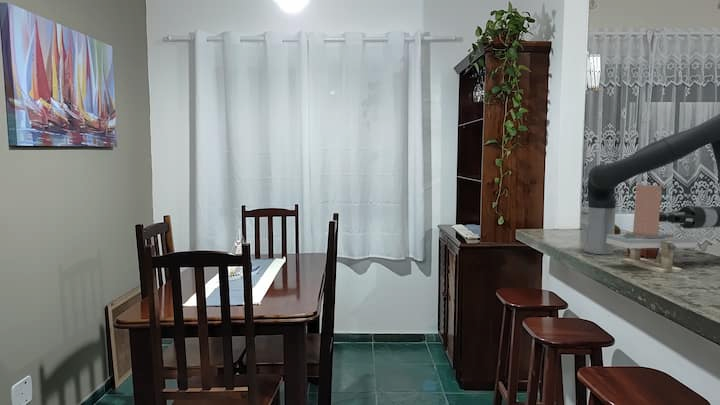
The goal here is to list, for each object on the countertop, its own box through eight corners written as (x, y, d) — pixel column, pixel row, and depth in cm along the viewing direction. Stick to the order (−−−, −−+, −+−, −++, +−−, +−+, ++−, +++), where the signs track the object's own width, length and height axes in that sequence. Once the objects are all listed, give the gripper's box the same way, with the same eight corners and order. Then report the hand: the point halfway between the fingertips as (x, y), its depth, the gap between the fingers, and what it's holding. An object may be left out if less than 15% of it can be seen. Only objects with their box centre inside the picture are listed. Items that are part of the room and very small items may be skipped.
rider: (645, 238, 167) (649, 185, 166) (664, 242, 160) (669, 186, 158) (625, 238, 166) (629, 184, 164) (643, 242, 158) (648, 186, 156)
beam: (671, 242, 171) (671, 233, 170) (697, 247, 161) (697, 238, 161) (606, 242, 165) (606, 234, 165) (628, 248, 155) (629, 239, 155)
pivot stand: (639, 260, 173) (641, 233, 172) (682, 271, 156) (684, 242, 155) (620, 261, 171) (621, 234, 170) (661, 273, 154) (663, 243, 153)
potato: (612, 239, 217) (613, 221, 217) (622, 244, 205) (623, 225, 204) (592, 238, 219) (593, 220, 218) (601, 243, 206) (602, 224, 206)
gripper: (681, 204, 172) (638, 204, 168) (716, 208, 159) (671, 208, 155) (679, 225, 173) (637, 226, 169) (714, 231, 160) (669, 232, 156)
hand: (653, 218), depth 162 cm, fingers closed
